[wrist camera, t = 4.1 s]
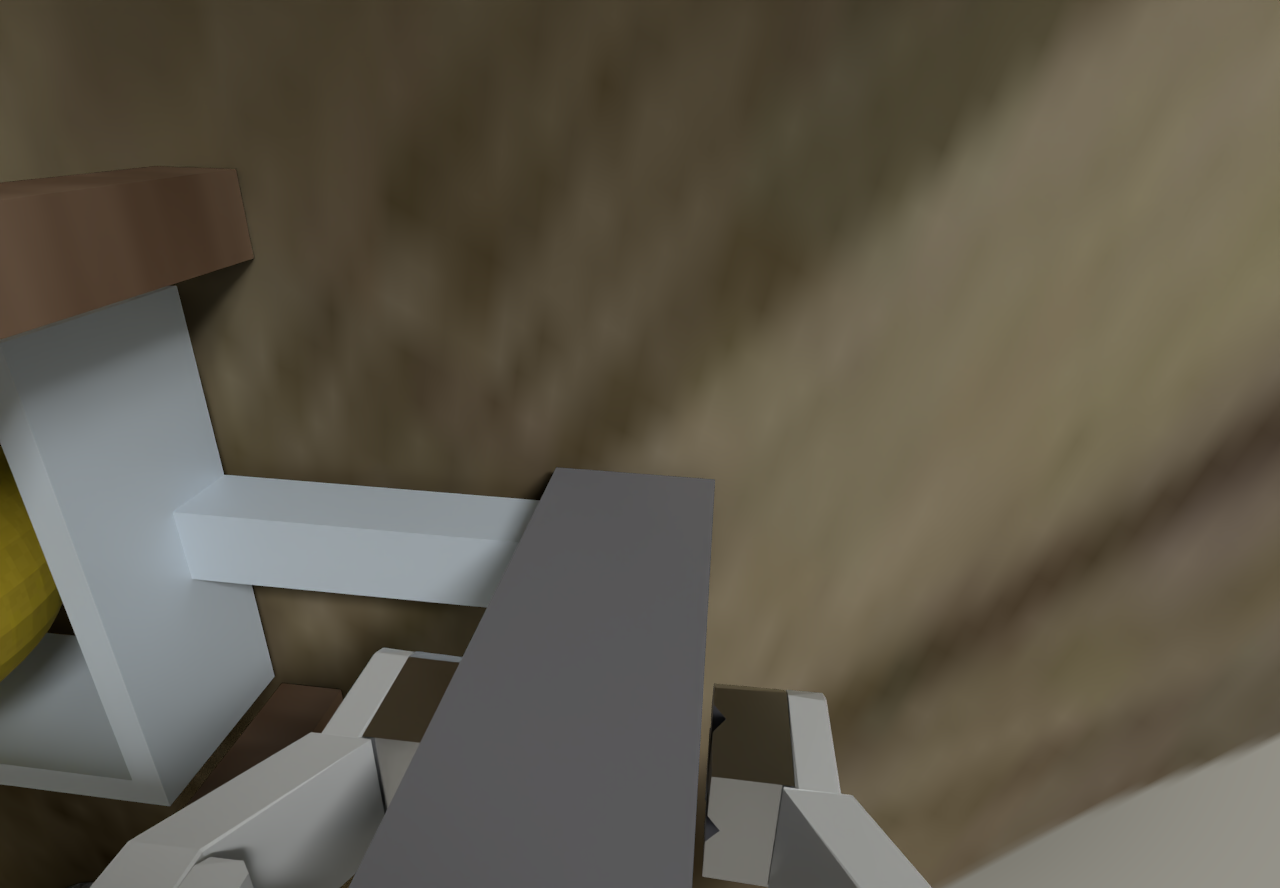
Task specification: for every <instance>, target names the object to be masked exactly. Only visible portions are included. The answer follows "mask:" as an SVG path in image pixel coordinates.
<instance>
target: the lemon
mask: <svg viewBox="0 0 1280 888" xmlns="http://www.w3.org/2000/svg"><path fill="white" fill-rule="evenodd" d="M62 603H63V602H62V599H61V597H60V594H59V592H58V589H57V587H56V584H55V581H54V579H53V576H52V574H51V571H50V569H49V566H48V564H47V561H46V558H45V556H44V553H43V551H42V548H41V546H40V543H39V541H38V538H37V536H36V533H35V530H34V528H33V525H32V523H31V520H30V518H29V515H28V513H27V510H26V507H25V505H24V502H23V500H22V497H21V495H20V492H19V490H18V487H17V484H16V482H15V479H14V477H13V474H12V472H11V469H10V467H9V464H8V461H7V459H6V456H5V454H4V451H3V449H2V447H0V682H1V681H2V680H3V679H4V678H6V677H7V676H8V675H9V674H10V673H11V672H12V671H13V670H14V669H15V668H16V667H17V666H18V665H19V664H20V663H21V662H22V661H23V660H24V659H25V658H26V657H27V656H28V655H29V654H30V653H31V652H32V651H33V649H34V648H35V647H36V646H37V645H38V644H39V642H40V641H41V640H42V638H43V637H44V636H45V634H46V633H47V632H48V630H49V629H50V627H51V625H52V624H53V622H54V620H55V618H56V616H57V615H58V613H59V610H60V608H61V606H62Z"/></svg>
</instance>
